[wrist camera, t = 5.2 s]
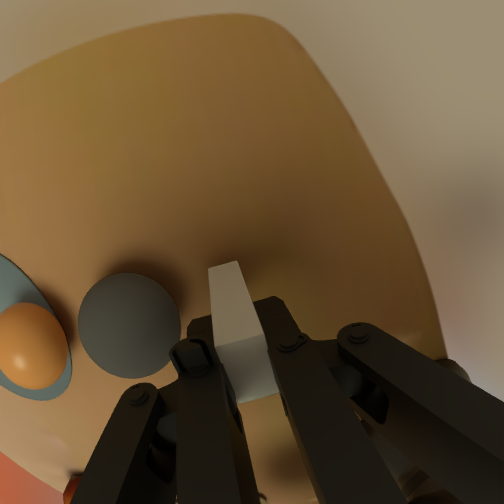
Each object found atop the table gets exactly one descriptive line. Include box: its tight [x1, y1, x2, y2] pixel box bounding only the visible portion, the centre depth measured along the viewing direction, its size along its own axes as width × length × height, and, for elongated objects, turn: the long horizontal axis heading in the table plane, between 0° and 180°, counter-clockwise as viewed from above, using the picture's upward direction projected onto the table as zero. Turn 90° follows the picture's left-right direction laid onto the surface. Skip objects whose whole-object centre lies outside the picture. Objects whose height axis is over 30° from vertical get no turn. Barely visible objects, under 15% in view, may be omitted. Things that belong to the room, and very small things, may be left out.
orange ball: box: [0, 302, 68, 390], centre depth 13 cm, size 6×6×6 cm
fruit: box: [63, 475, 82, 504], centre depth 19 cm, size 8×8×8 cm
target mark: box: [0, 254, 72, 401], centre depth 15 cm, size 14×14×1 cm
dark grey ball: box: [78, 273, 181, 379], centre depth 13 cm, size 6×6×6 cm
